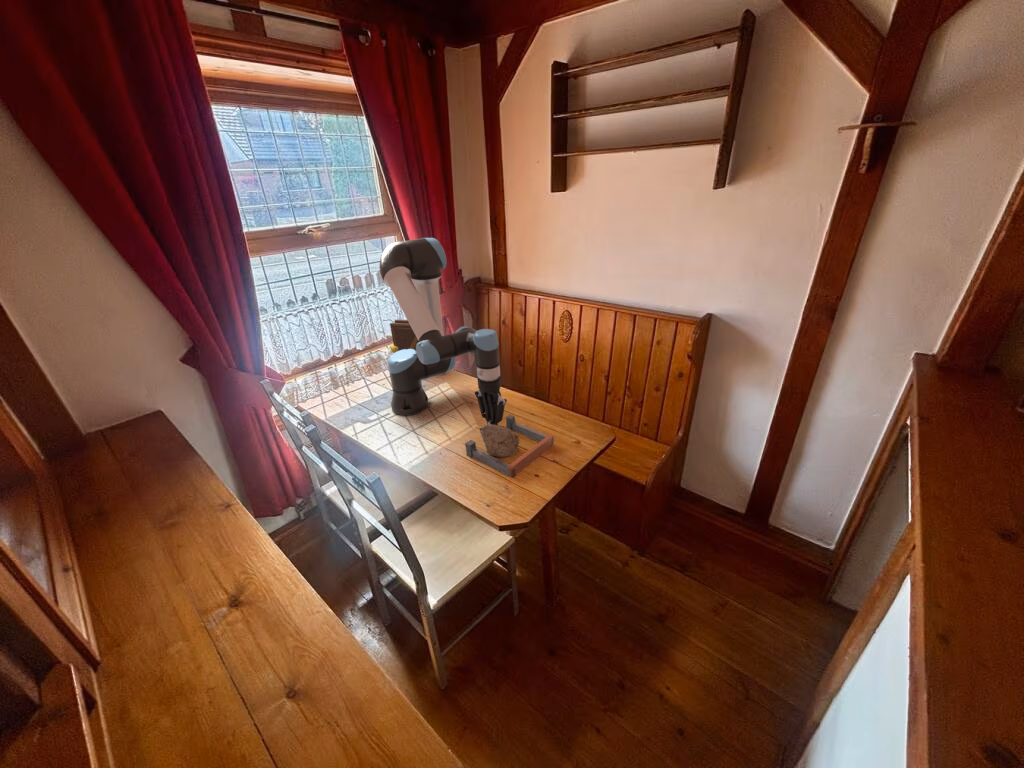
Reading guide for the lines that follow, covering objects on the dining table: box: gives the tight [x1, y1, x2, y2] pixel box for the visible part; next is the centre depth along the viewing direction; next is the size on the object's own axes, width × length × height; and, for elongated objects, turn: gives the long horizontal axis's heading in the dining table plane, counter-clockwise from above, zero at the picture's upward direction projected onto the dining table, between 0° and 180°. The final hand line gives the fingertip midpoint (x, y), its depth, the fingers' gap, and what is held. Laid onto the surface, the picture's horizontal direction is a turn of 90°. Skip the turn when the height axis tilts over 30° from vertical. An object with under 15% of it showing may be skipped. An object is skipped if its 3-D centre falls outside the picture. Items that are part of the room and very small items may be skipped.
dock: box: [465, 414, 555, 479], centre depth 144 cm, size 20×23×5 cm
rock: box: [478, 423, 520, 458], centre depth 143 cm, size 14×10×8 cm
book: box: [389, 319, 419, 354], centre depth 199 cm, size 22×8×25 cm, turn 77°
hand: (493, 436), depth 149 cm, fingers closed
